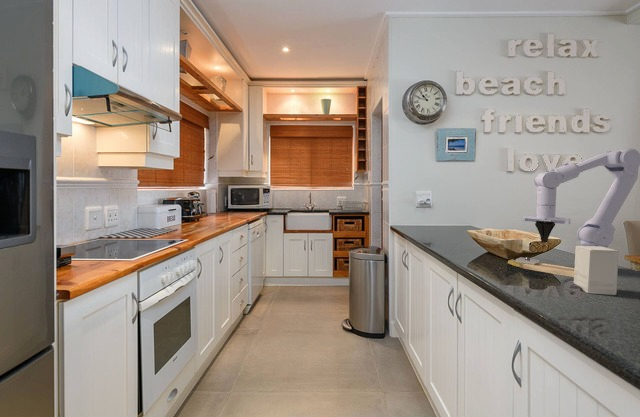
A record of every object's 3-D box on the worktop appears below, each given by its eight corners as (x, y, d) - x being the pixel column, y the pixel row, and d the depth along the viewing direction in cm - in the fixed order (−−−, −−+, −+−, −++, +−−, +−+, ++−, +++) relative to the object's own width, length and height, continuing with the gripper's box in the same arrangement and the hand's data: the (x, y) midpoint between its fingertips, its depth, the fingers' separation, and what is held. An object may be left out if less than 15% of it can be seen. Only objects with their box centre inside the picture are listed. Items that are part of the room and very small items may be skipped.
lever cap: (520, 259, 123) (520, 255, 123) (539, 262, 118) (539, 258, 118) (515, 261, 120) (515, 257, 120) (534, 264, 115) (534, 260, 115)
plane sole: (526, 267, 123) (526, 260, 122) (583, 277, 109) (584, 269, 109) (519, 270, 118) (519, 263, 118) (578, 280, 105) (578, 273, 105)
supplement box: (617, 295, 91) (620, 250, 90) (587, 293, 92) (589, 249, 92) (600, 287, 98) (602, 245, 97) (572, 286, 100) (574, 245, 99)
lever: (525, 266, 121) (511, 261, 125) (526, 264, 121) (512, 259, 125) (521, 268, 119) (507, 263, 122) (522, 265, 119) (508, 260, 122)
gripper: (519, 204, 122) (518, 240, 123) (567, 206, 111) (565, 246, 112) (526, 204, 126) (525, 238, 127) (572, 205, 115) (570, 243, 116)
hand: (544, 242), depth 120 cm, fingers closed
